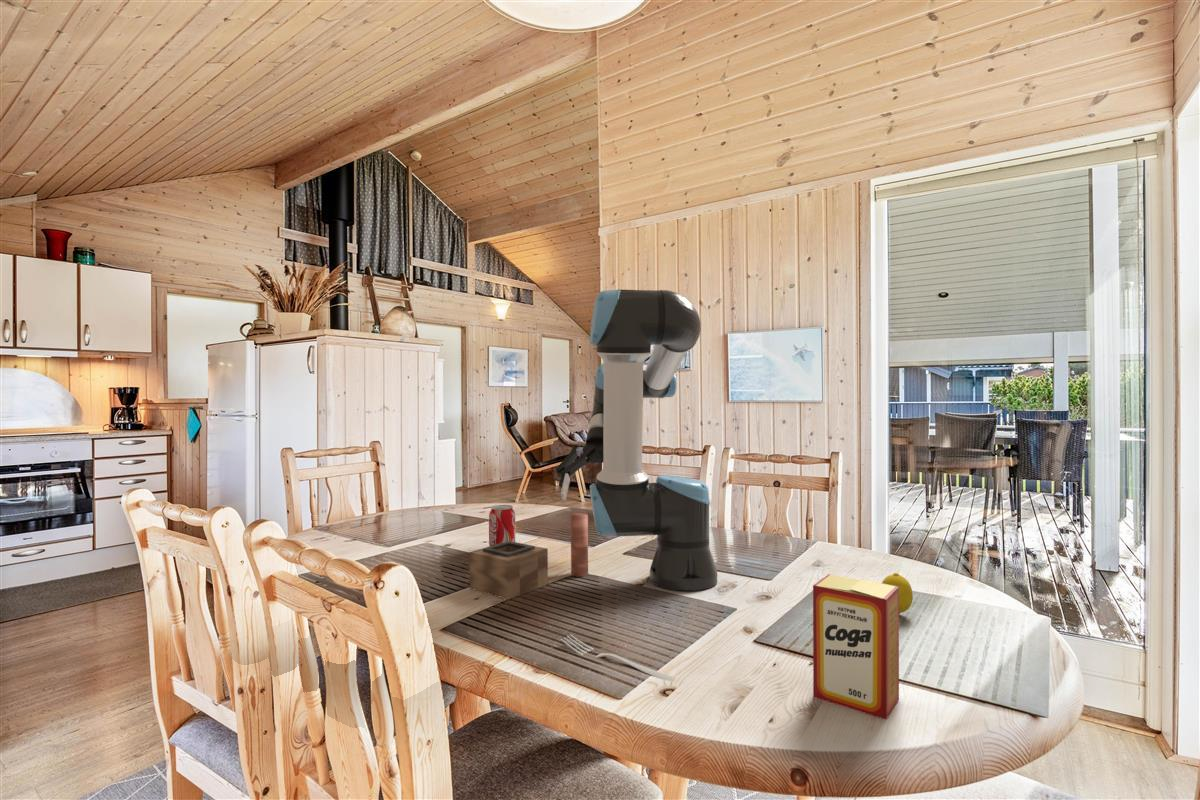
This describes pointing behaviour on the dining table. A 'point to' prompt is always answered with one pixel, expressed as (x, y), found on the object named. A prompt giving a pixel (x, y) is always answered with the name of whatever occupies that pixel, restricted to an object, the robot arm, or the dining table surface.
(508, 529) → the soda can
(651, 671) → the fork
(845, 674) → the baking soda box
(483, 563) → the socket block
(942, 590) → the dining table surface
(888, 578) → the lemon
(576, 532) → the peg
